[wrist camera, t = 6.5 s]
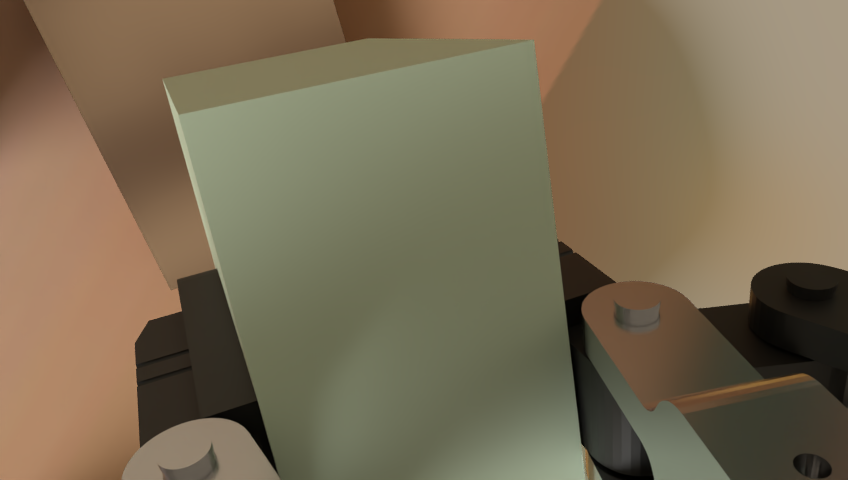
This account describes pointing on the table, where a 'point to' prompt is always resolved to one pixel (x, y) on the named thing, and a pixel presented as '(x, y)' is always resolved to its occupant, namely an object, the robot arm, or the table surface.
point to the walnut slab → (164, 91)
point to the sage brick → (390, 256)
